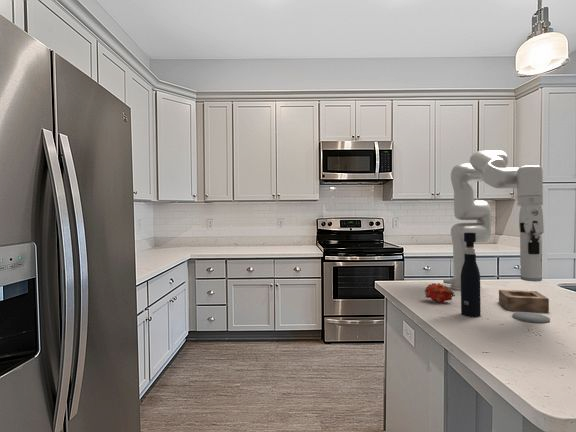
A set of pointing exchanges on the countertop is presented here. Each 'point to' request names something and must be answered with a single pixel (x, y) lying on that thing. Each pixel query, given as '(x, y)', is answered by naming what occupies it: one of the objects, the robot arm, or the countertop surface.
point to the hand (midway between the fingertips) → (530, 252)
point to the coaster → (531, 317)
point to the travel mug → (529, 258)
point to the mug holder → (523, 300)
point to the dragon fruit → (438, 293)
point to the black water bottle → (470, 280)
